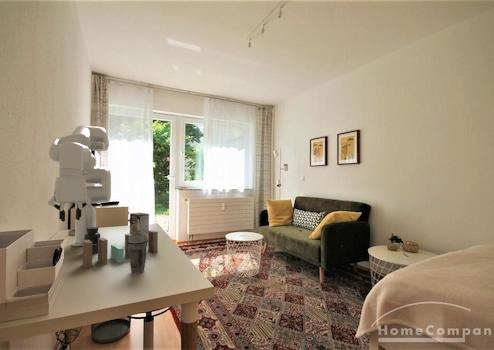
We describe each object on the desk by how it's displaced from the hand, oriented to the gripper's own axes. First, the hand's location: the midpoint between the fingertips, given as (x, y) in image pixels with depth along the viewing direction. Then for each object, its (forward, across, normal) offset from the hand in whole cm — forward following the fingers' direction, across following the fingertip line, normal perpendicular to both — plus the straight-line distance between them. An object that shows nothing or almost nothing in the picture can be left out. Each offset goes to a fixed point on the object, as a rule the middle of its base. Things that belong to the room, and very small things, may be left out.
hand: (70, 219), depth 94 cm
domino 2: (+20, -12, 0) cm, 23 cm away
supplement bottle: (+20, -12, -19) cm, 30 cm away
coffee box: (+20, -36, -22) cm, 47 cm away
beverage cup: (+20, -17, +21) cm, 34 cm away
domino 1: (+20, -6, 0) cm, 21 cm away
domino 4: (+20, -33, +1) cm, 39 cm away
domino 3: (+20, -22, 0) cm, 30 cm away
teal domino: (+17, -17, +6) cm, 24 cm away
